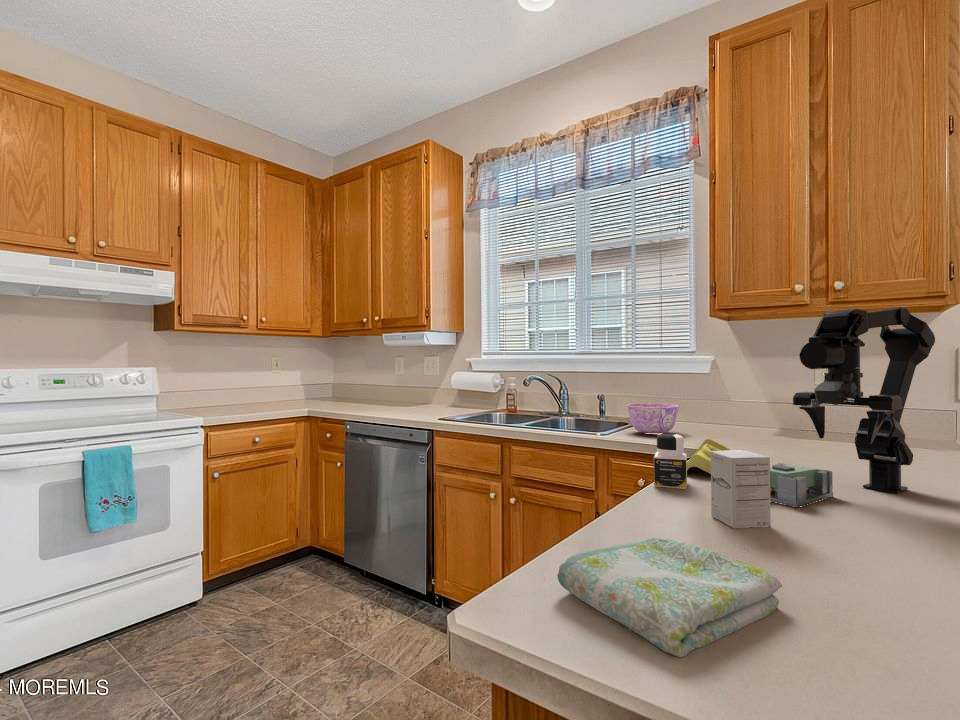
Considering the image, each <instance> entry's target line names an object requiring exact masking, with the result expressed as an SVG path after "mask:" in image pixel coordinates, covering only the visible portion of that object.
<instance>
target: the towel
mask: <svg viewBox="0 0 960 720" xmlns="http://www.w3.org/2000/svg"><path fill="white" fill-rule="evenodd" d="M556 575H557V580H558V582H559V584H560V586H561V587H562V588H563V589H565V590H566V591H568V592H569V593H570V594H572V595H573V596H574V597H576V598H578V599H579V600H580V601H582V602H584V603H585V604H587V605H589V606H590V607H592V608H593V609H595V610H597V611H598V612H600V613H601V614H604V615H605V616H607V617H608V618H610V619H611V620H614V621H616V622H617V623H620V624H621V625H624V626H625V627H627V628H628V629H630V630H631V631H633V632H634V633H636V634H638V635H639V636H641V637H643V638H644V639H645V640H646V641H649V642H650V643H652V644H653V645H655V646H656V647H657V648H659V649H660V650H662V651H664V652H666V653H667V654H670V655H673V656H674V657H677V658H684V657H685V656H687V654H689V653H690V652H691V651H693V650H695V649H699V648H703V647H705V646H707V645H709V644H712V643H714V642H716V641H718V640H719V639H721V638H723V637H726V636H728V635H730V634H732V633H734V632H737V631H738V630H740V629H742V628H744V627H746V626H749V625H750V624H752V623H755V622H757V621H758V620H761V619H763V618H765V617H767V616H769V615H770V614H772V613H773V612H775V611H776V610H777V608H778V606H779V603H780V600H779V599H780V598H778V597H777V596H776V595H775V593H777V592H778V591H779V590H780V588H782V587H783V584H782V583H781V582H780V580H779V579H778V578H777V577H776V576H775V575H774V574H772V573H771V572H769V571H768V570H765V569H764V568H762V567H759V566H757V565H754V564H751V563H748V562H746V561H744V560H740V559H738V558H734V557H731V556H730V555H729V556H728V555H726V554H722V553H719V552H717V551H714V550H712V549H709V548H705V547H703V546H699V545H696V544H693V543H688V542H683V541H678V540H673V539H668V538H658V537H651V538H648V539H645V540H642V541H638V542H632V543H628V544H621V545H615V546H608V547H604V548H603V547H602V548H597V549H592V550H588V551H584V552H581V553H578V554H574V555H571V556H569V557H568V558H566V560H565V561H564V562H563V563H561V564H560V565H559V569H558V573H557V574H556Z"/></svg>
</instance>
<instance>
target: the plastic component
mask: <svg viewBox="0 0 960 720" xmlns="http://www.w3.org/2000/svg"><path fill="white" fill-rule="evenodd" d="M725 450H731V449H730V448H729V447H727V446H725V445H723V444H722V443H719V442H718V441H715V440H714V439H712V438H706V439H705V440H704V441H703V442H702V443H701V445H700V446H698V448H697V449H696V451H695V452H694V454H693V455H691V457H690V458H689V459H688V461H687V472H688V470H689V469H690V468H691V467H696V468H698V469H699V470H702V471H704V472H706V473H707V474H709V475H711V451H725Z"/></svg>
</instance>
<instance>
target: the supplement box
mask: <svg viewBox="0 0 960 720" xmlns="http://www.w3.org/2000/svg"><path fill="white" fill-rule="evenodd" d="M770 467H771V458H770V456H766V455H763V454H759V453H755V452H753V451H749V450H746V449H730V450H725V451H711V474H710V487H711V489H710V495H711V496H710V499H711V500H710V503H711V505H710V507H711V508H710V509H711V517H712V518H715V519H717V520H718V521H720V522H722V523H724V524H726V526H729V527H731V528H732V529H734V528H738V529H751V528H750V527H762V528H766V527H765V526H770V527H771V525H772V524H771V523H772V522H771V502H770Z"/></svg>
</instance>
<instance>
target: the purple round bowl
mask: <svg viewBox="0 0 960 720" xmlns="http://www.w3.org/2000/svg"><path fill="white" fill-rule="evenodd" d="M626 408H627V411H628V415H629V419H630V423H631V426H632V427H633V428H634V429H635V430H636V431H638V432H641V433H642V432H643V433H664V434H666V433H667V432H670V431H671V430H673V428H674V427H675V424H676V421H677V418H678V417H677V416H678V412H679V408H680V406H679V405H677V404H672V403H656V402H655V403H652V402H651V403H648V402H647V403H646V402H644V403H642V402H641V403H640V402H639V403H628V404H626Z"/></svg>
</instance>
